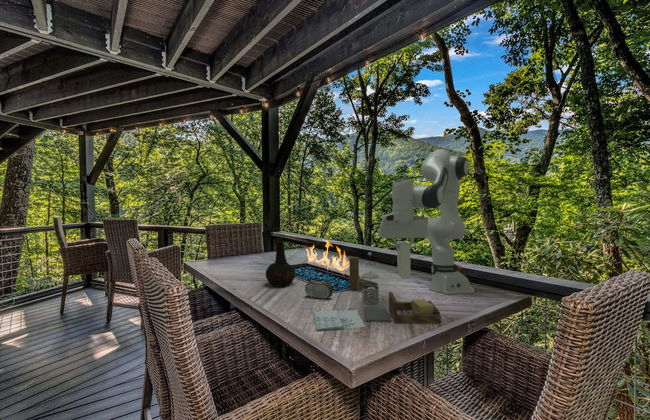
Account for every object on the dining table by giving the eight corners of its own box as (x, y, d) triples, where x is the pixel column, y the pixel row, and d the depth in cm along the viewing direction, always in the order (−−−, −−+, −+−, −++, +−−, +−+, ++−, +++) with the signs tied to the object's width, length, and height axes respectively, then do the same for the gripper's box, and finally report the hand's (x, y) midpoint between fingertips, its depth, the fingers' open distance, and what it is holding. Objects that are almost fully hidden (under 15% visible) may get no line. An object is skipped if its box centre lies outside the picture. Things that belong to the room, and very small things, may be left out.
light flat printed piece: (313, 314, 141) (313, 309, 141) (358, 312, 142) (358, 307, 142) (315, 332, 122) (315, 327, 122) (367, 330, 123) (367, 324, 123)
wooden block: (367, 289, 176) (366, 256, 176) (366, 291, 172) (365, 258, 171) (351, 288, 179) (350, 256, 178) (349, 290, 174) (349, 258, 174)
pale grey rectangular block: (405, 272, 141) (405, 241, 140) (410, 278, 130) (410, 244, 129) (397, 272, 141) (397, 241, 141) (401, 278, 130) (401, 245, 130)
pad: (385, 309, 144) (385, 308, 144) (390, 321, 130) (390, 320, 130) (363, 309, 144) (363, 308, 144) (365, 321, 130) (365, 320, 130)
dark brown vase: (280, 279, 203) (279, 235, 202) (301, 282, 192) (300, 237, 191) (259, 285, 188) (258, 238, 187) (281, 290, 178) (280, 240, 177)
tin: (333, 298, 161) (332, 282, 161) (330, 300, 158) (330, 283, 158) (307, 295, 167) (306, 279, 167) (304, 297, 164) (303, 281, 164)
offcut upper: (424, 305, 140) (424, 298, 140) (433, 312, 131) (433, 305, 131) (411, 306, 140) (411, 299, 139) (420, 313, 131) (419, 306, 130)
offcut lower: (425, 312, 140) (425, 305, 140) (432, 320, 131) (432, 313, 131) (412, 312, 140) (412, 306, 140) (418, 320, 131) (418, 313, 131)
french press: (376, 308, 145) (375, 254, 144) (353, 304, 151) (352, 252, 150) (384, 302, 153) (383, 251, 152) (362, 299, 159) (361, 249, 158)
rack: (429, 308, 144) (429, 291, 143) (441, 323, 127) (440, 303, 126) (388, 308, 145) (388, 291, 145) (394, 323, 128) (394, 303, 128)
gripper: (425, 215, 137) (426, 247, 137) (378, 216, 138) (378, 247, 139) (429, 216, 131) (430, 249, 131) (379, 217, 132) (380, 250, 133)
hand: (403, 248), depth 135 cm, fingers closed on pale grey rectangular block, 3 cm apart
